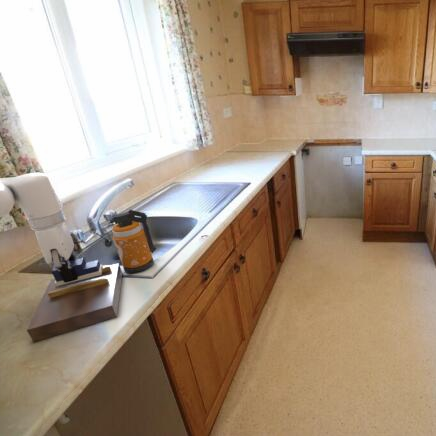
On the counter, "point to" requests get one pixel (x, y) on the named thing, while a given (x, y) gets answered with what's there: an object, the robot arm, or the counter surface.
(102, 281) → the brown rectangular slab
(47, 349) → the counter surface
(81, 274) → the blue box
